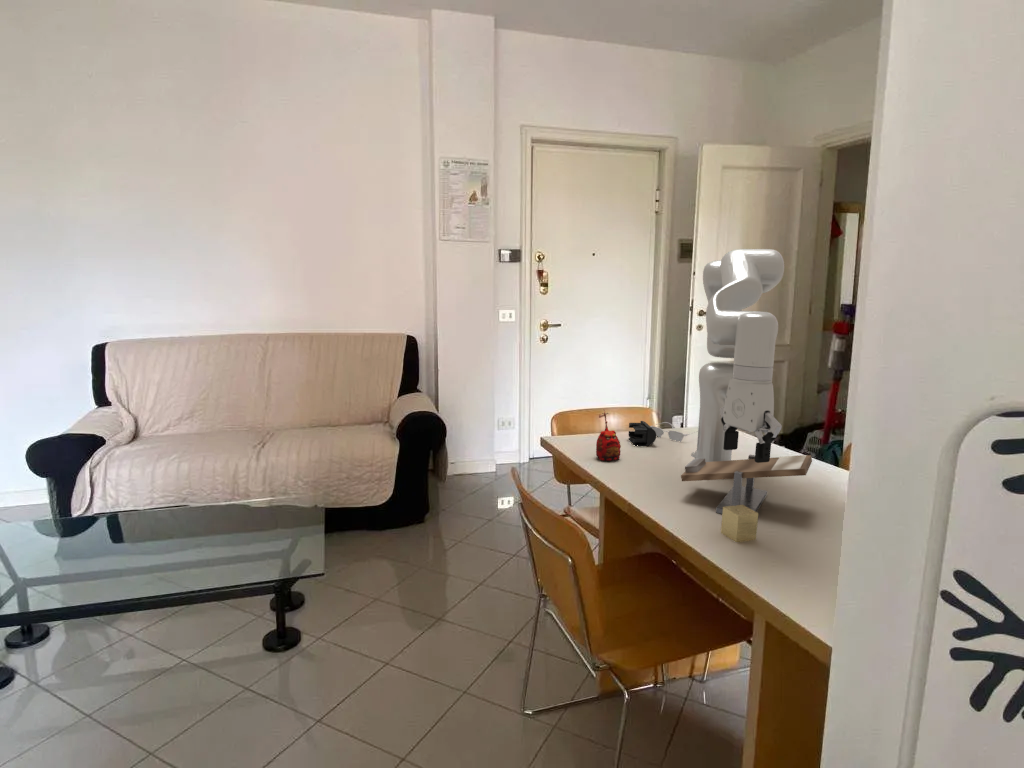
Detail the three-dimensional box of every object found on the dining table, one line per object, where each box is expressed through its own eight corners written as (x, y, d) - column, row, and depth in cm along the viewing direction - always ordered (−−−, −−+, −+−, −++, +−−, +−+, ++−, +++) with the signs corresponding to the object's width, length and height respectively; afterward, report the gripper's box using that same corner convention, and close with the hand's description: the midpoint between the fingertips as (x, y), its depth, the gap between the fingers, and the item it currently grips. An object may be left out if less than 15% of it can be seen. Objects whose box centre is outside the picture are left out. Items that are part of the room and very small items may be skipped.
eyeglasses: (645, 435, 213) (646, 425, 213) (672, 428, 226) (673, 418, 225) (684, 444, 202) (685, 433, 202) (710, 436, 215) (711, 425, 214)
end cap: (655, 447, 197) (657, 427, 196) (634, 447, 197) (635, 427, 195) (648, 439, 207) (649, 420, 206) (627, 439, 206) (628, 420, 205)
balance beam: (681, 482, 147) (678, 470, 147) (696, 467, 159) (694, 456, 159) (805, 476, 132) (803, 462, 131) (812, 460, 144) (810, 448, 144)
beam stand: (715, 512, 140) (719, 471, 139) (734, 489, 157) (737, 451, 155) (751, 520, 136) (755, 477, 135) (766, 495, 153) (770, 456, 151)
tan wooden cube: (720, 533, 129) (723, 506, 128) (740, 530, 131) (742, 504, 130) (736, 542, 124) (738, 515, 123) (755, 540, 126) (758, 513, 125)
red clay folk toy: (603, 463, 178) (605, 414, 175) (590, 457, 184) (592, 409, 181) (624, 460, 181) (626, 412, 178) (611, 454, 187) (613, 407, 185)
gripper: (710, 369, 128) (704, 446, 131) (767, 380, 112) (759, 468, 115) (739, 368, 131) (733, 444, 133) (799, 379, 115) (791, 466, 117)
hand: (745, 455), depth 124 cm, fingers open, 9 cm apart
